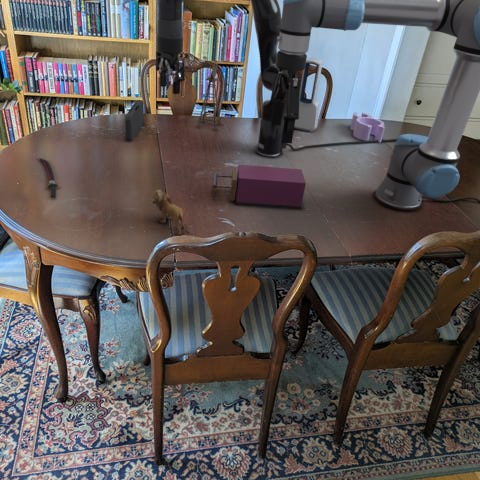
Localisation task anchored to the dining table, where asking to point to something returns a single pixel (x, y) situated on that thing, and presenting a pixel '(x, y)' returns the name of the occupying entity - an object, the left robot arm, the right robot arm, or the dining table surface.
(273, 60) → the left robot arm
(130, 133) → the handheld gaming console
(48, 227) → the dining table surface
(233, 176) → the drawer
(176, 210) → the lion figurine
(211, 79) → the miniature windmill
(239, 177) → the purple rectangular box
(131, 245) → the dining table surface
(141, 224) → the dining table surface
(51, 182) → the sword
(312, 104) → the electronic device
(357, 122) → the clip
